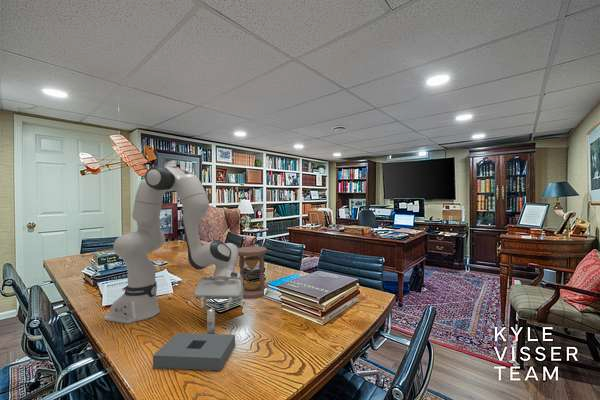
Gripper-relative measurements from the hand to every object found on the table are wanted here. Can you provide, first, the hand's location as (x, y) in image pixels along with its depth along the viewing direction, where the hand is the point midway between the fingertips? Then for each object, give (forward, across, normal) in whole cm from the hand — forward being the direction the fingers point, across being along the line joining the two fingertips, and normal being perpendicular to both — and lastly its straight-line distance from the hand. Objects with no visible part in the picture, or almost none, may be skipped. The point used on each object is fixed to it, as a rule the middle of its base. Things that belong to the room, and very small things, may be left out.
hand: (214, 308), depth 107 cm
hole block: (+18, +1, -6) cm, 19 cm away
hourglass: (-24, +4, +37) cm, 44 cm away
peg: (+8, 0, +4) cm, 9 cm away
